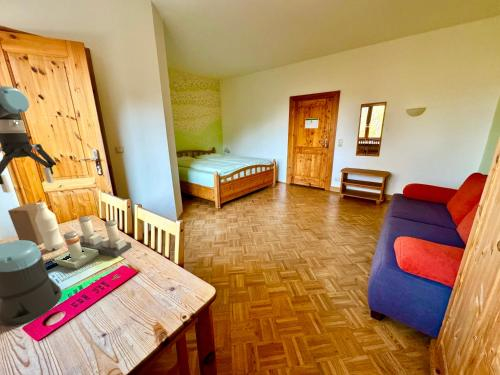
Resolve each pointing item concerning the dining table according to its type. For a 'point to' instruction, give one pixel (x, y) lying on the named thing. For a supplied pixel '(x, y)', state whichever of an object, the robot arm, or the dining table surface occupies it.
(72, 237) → the marked fuse
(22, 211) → the wooden block
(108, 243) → the block
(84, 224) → the fuse far
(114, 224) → the cylinder
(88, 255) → the tray
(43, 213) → the water bottle
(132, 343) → the dining table surface
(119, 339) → the dining table surface
